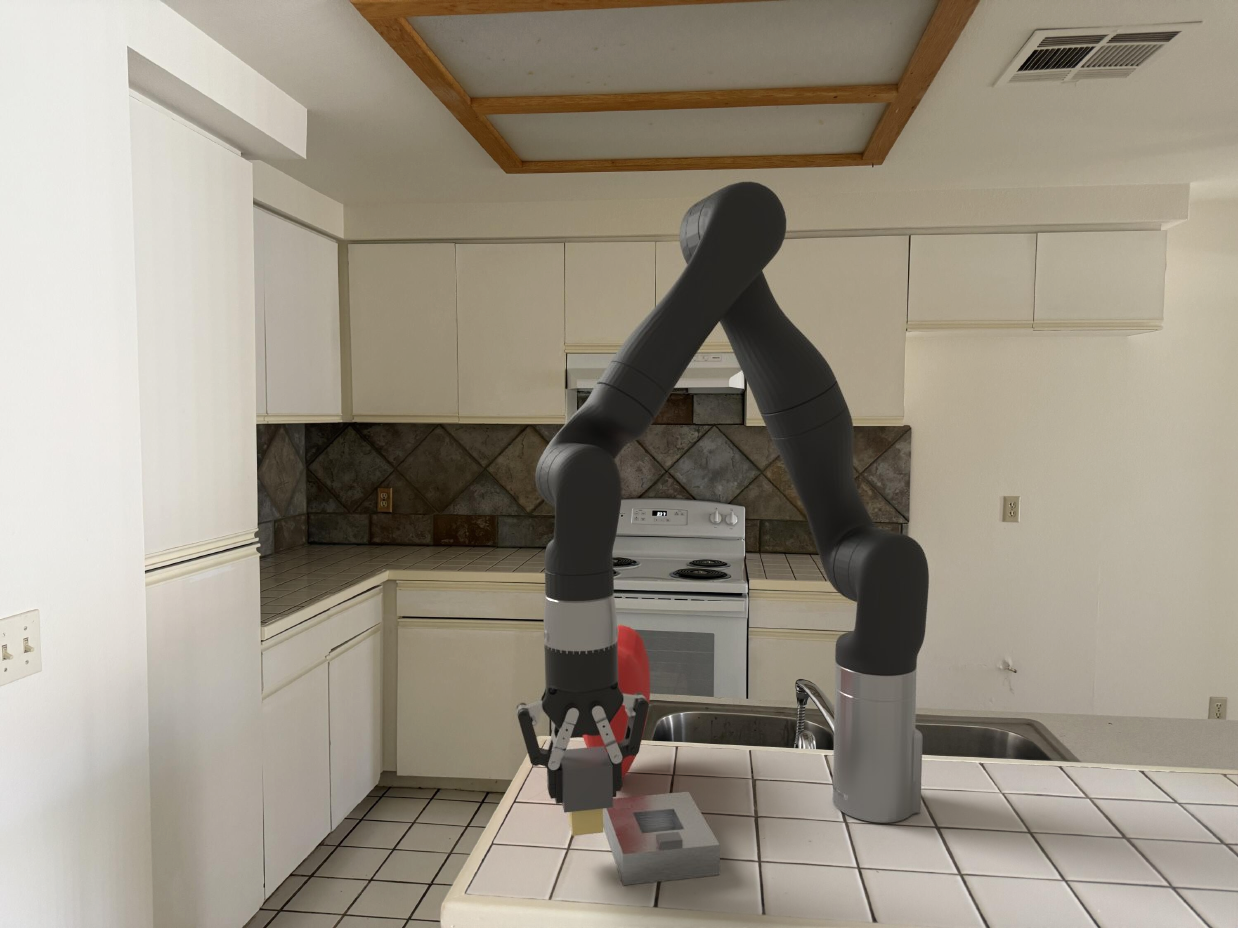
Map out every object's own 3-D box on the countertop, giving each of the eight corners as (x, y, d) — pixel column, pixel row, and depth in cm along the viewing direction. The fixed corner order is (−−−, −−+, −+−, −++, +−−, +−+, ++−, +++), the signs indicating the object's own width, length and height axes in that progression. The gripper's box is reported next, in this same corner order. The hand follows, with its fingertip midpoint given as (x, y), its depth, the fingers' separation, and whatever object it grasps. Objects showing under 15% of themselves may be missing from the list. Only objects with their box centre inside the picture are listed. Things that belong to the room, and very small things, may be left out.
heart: (640, 820, 98) (640, 660, 96) (566, 815, 99) (566, 657, 98) (655, 750, 118) (656, 617, 116) (594, 746, 119) (594, 615, 117)
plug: (605, 812, 91) (603, 745, 91) (613, 835, 86) (612, 765, 86) (558, 817, 90) (557, 750, 90) (564, 841, 86) (563, 769, 85)
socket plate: (688, 818, 98) (688, 785, 98) (719, 874, 86) (719, 837, 86) (603, 826, 96) (603, 793, 96) (623, 884, 85) (623, 847, 84)
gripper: (641, 623, 92) (644, 774, 93) (508, 632, 89) (513, 788, 91) (657, 642, 85) (660, 806, 86) (513, 653, 82) (518, 822, 83)
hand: (584, 796), depth 88 cm, fingers closed on plug, 5 cm apart
